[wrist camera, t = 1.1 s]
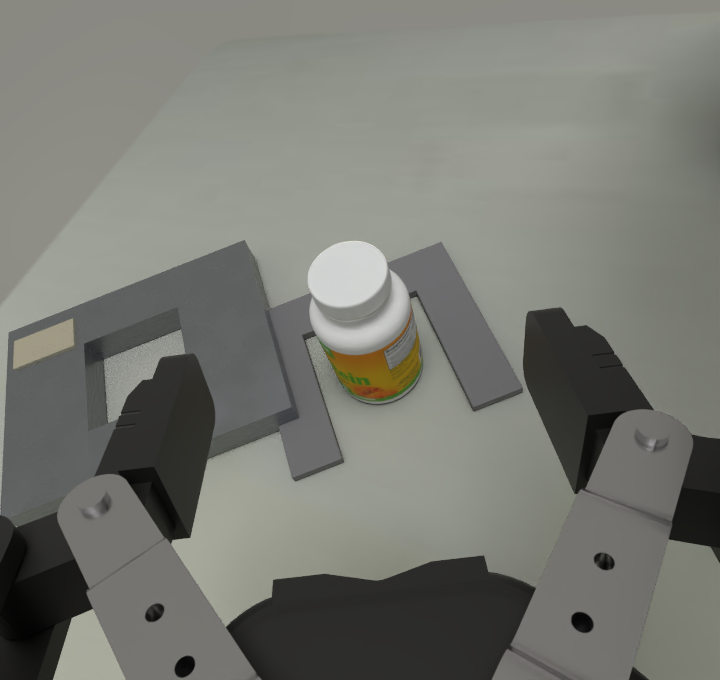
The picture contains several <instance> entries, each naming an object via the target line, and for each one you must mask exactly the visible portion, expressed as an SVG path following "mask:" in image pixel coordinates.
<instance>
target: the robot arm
mask: <svg viewBox="0 0 720 680" xmlns="http://www.w3.org/2000/svg"><path fill="white" fill-rule="evenodd" d="M523 370H524V377H525V381H526V385H527V387H528V390H529V392H530V394H531V397H532V399H533V401H534V403H535V406H536V408H537V410H538V412H539V415H540V417H541V419H542V421H543V424H544V426H545V428H546V430H547V433H548V435H549V437H550V439H551V442H552V444H553V446H554V448H555V451H556V453H557V455H558V457H559V460H560V462H561V464H562V467H563V469H564V471H565V473H566V476H567V478H568V480H569V482H570V485H571V487H572V489H573V491H574V494H578V495H577V497H576V499H575V501H574V504H573V506H572V508H571V510H570V513H569V515H568V517H567V519H566V522H565V524H564V526H563V528H562V531H561V533H560V535H559V538H558V540H557V542H556V544H555V547H554V549H553V551H552V553H551V556H550V558H549V560H548V562H547V565H546V567H545V569H544V572H543V574H542V576H541V578H540V581H539V583H538V585H537V587H536V588H535V587H533V586H531V585H529V584H527V583H525V582H523V581H520V580H518V579H515V578H512V577H510V576H506V575H502V574H498V573H492V572H488V569H487V565H486V561H485V557H484V556H476V557H468V558H459V559H450V560H441V561H433V562H429V563H427V564H424V565H421V566H419V567H416V568H414V569H411V570H408V571H406V572H403V573H400V574H398V575H395V576H392V577H390V578H387V579H384V580H380V581H373V580H365V579H358V578H351V577H343V576H336V575H329V574H320V575H311V576H303V577H294V578H285V579H277V580H273V590H272V597H271V598H268V599H266V600H264V601H262V602H260V603H258V604H256V605H254V606H252V607H251V608H249V609H248V610H246V611H245V612H243V613H242V614H240V615H239V616H238V617H237V618H236V619H234V620H233V621H232V622H231V623H230V624H229V625H228V626H227V627H225V625H224V624H223V622H222V621H221V619H220V618H219V616H218V615H217V613H216V612H215V610H214V609H213V607H212V606H211V604H210V603H209V601H208V600H207V598H206V597H205V595H204V594H203V592H202V591H201V589H200V588H199V586H198V585H197V583H196V582H195V580H194V579H193V577H192V576H191V574H190V573H189V571H188V570H187V568H186V567H185V565H184V564H183V562H182V561H181V559H180V557H179V556H178V554H177V553H176V551H175V550H174V548H173V547H172V545H171V543H172V540H175V539H183V538H190V536H191V532H192V527H193V522H194V518H195V513H196V509H197V504H198V500H199V495H200V490H201V486H202V481H203V477H204V472H205V468H206V463H207V458H208V454H209V449H210V445H211V440H212V436H213V431H214V426H215V407H214V402H213V399H212V396H211V393H210V390H209V388H208V385H207V382H206V380H205V377H204V374H203V372H202V369H201V366H200V364H199V361H198V359H197V357H196V355H195V354H193V353H191V354H183V355H175V356H167V357H162V358H161V359H160V361H159V363H158V366H157V368H156V371H155V373H154V376H153V379H150V380H142V381H141V383H140V384H139V385H138V386H137V387H136V388H135V389H134V390H133V391H132V392H131V393H130V394H129V395H128V397H127V399H126V402H125V404H124V407H123V409H122V411H121V416H119V419H118V421H117V423H116V429H114V430H113V433H112V435H111V438H110V440H109V442H108V445H107V447H106V450H105V452H104V454H103V457H102V459H101V462H100V464H99V466H98V469H97V471H96V474H95V476H94V477H93V478H90V479H88V480H86V481H84V482H82V483H81V484H79V485H78V486H76V487H75V488H74V489H73V490H72V491H71V492H70V493H69V494H68V495H67V496H66V497H65V498H64V499H63V501H62V503H61V504H60V507H59V509H58V512H55V513H53V514H51V515H48V516H45V517H43V518H40V519H37V520H35V521H32V522H29V523H27V524H24V525H22V526H19V527H15V526H14V524H13V523H12V522H11V521H10V520H9V519H8V518H7V517H5V516H2V515H0V680H53V677H54V674H55V671H56V668H57V664H58V661H59V658H60V655H61V651H62V648H63V645H64V641H65V638H66V635H67V632H68V628H69V625H70V622H71V619H72V618H73V617H75V616H77V615H80V614H82V613H84V612H87V611H89V610H91V609H94V612H95V614H96V616H97V618H98V620H99V622H100V624H101V627H102V629H103V631H104V633H105V635H106V637H107V640H108V642H109V644H110V646H111V648H112V650H113V653H114V655H115V657H116V659H117V661H118V663H119V666H120V668H121V670H122V672H123V674H124V676H125V678H126V680H648V679H647V678H646V677H645V676H644V675H643V674H641V673H640V672H639V671H638V670H637V669H635V668H634V667H633V663H634V660H635V656H636V652H637V649H638V645H639V642H640V638H641V635H642V631H643V628H644V624H645V620H646V617H647V613H648V610H649V606H650V603H651V599H652V596H653V592H654V588H655V585H656V581H657V578H658V574H659V571H660V567H661V564H662V560H663V556H664V553H665V549H666V546H667V542H668V539H670V540H675V541H681V542H687V543H693V544H699V545H705V546H710V547H711V548H712V550H713V552H714V554H715V555H716V557H717V559H718V561H719V563H720V439H715V438H707V437H701V436H696V435H692V434H691V433H690V432H689V430H688V429H687V428H686V427H685V426H684V425H683V424H682V423H681V422H680V421H678V420H677V419H675V418H673V417H671V416H669V415H667V414H664V413H662V412H658V411H654V409H653V408H652V406H651V405H650V404H649V402H648V401H647V399H646V398H645V396H644V395H643V393H642V392H641V390H640V389H639V387H638V386H637V385H636V383H635V382H634V380H633V379H632V377H631V376H630V374H629V373H628V371H627V370H626V368H625V367H623V364H622V363H621V361H620V360H619V358H618V357H617V355H615V354H614V351H613V349H612V348H611V347H610V345H609V344H608V342H607V341H606V339H605V338H604V337H603V336H602V335H600V334H599V333H597V332H596V331H594V330H593V329H591V328H590V327H588V326H587V325H585V326H577V327H574V326H573V324H572V323H571V321H570V319H569V318H568V316H567V315H566V313H565V311H564V310H563V309H562V308H560V307H559V308H551V309H544V310H536V311H529V312H528V313H527V317H526V327H525V342H524V356H523Z"/></svg>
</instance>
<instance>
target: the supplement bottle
mask: <svg viewBox="0 0 720 680" xmlns="http://www.w3.org/2000/svg"><path fill="white" fill-rule="evenodd" d="M307 281H308V287H309V290H310V293H311V295H312V299H311V303H310V309H309V315H310V321H311V325H312V327H313V330H314V332H315V334H316V336H317V338H318V340H319V342H320V344H321V346H322V347H323V349H324V351H325V353H326V355H327V357H328V359H329V361H330V363H331V365H332V367H333V369H334V371H335V373H336V375H337V377H338V379H339V381H340V383H341V384H342V386H343V387H344V389H345V390H346V391H347V392H348V393H349V394H350V395H351V396H353V397H354V398H356V399H358V400H360V401H362V402H366V403H371V404H383V403H388V402H392V401H395V400H397V399H399V398H401V397H402V396H404V395H405V394H406V393H408V392H409V391H410V390H411V389H412V388H413V387H414V385H415V384H416V383H417V381H418V379H419V377H420V374H421V371H422V365H423V358H422V350H421V346H420V341H419V337H418V332H417V327H416V322H415V318H414V314H413V309H412V305H411V300H410V296H409V293H408V290H407V288H406V286H405V284H404V282H403V281H402V280H401V278H400V277H399V276H398V275H397V274H395V273H394V272H393V271H391V270H390V269H389V267H388V264H387V261H386V259H385V257H384V255H383V254H382V252H381V251H380V250H378V249H377V248H376V247H375V246H373V245H371V244H369V243H366V242H362V241H346V242H341V243H338V244H335V245H333V246H331V247H329V248H327V249H326V250H324V251H323V252H322V253H321V254H319V255H318V256H317V257H316V259H315V260H314V261H313V263H312V264H311V267H310V269H309V272H308V279H307Z"/></svg>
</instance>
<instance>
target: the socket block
mask: <svg viewBox="0 0 720 680" xmlns="http://www.w3.org/2000/svg"><path fill="white" fill-rule="evenodd" d="M269 309H270V308H269V305H268V301H267V298H266V294H265V291H264V287H263V284H262V280H261V277H260V274H259V270H258V267H257V263H256V260H255V258H254V256H253V254H252V253H251V251H250V249H249V247H248V246H247V244H246V242H245V240H244V241H241V242H238V243H236V244H233V245H231V246H228V247H226V248H223V249H221V250H218V251H215V252H213V253H210V254H208V255H205V256H203V257H200V258H198V259H195V260H193V261H190V262H187V263H185V264H182V265H180V266H177V267H175V268H172V269H170V270H167V271H165V272H162V273H159V274H157V275H154V276H152V277H149V278H147V279H144V280H142V281H139V282H136V283H134V284H131V285H129V286H126V287H124V288H121V289H119V290H116V291H114V292H111V293H108V294H106V295H103V296H101V297H98V298H96V299H93V300H91V301H88V302H85V303H83V304H80V305H78V306H75V307H73V308H70V309H68V310H65V311H63V312H60V313H57V314H55V315H52V316H50V317H47V318H45V319H42V320H40V321H37V322H34V323H32V324H29V325H27V326H24V327H22V328H19V329H17V330H14V331H12V332H9V339H8V361H7V383H6V406H5V428H4V450H3V472H2V494H1V515H2V516H5V517H7V518H8V519H9V520H10V521H11V522H12V523H13V524H14V526H17V527H19V526H22V525H24V524H27V523H29V522H32V521H35V520H37V519H40V518H43V517H45V516H48V515H51V514H53V513H55V512H58V509H59V507H60V504H61V503H62V501H63V499H64V498H65V497H66V496H67V495H68V494H69V493H70V492H71V491H72V490H73V489H74V488H75V487H76V486H78V485H79V484H81V483H82V482H84V481H86V480H88V479H90V478H93V477H94V476H95V474H96V471H97V469H98V466H99V464H100V462H101V459H102V457H103V454H104V452H105V450H106V447H107V445H108V442H109V440H110V438H111V435H112V433H113V430H114V429H116V423H117V421H118V420H115V421H113V422H110V423H107V409H106V395H105V381H104V366H103V359H105V358H107V357H110V356H112V355H115V354H117V353H120V352H122V351H125V350H128V349H130V348H133V347H135V346H138V345H140V344H143V343H145V342H148V341H151V340H153V339H156V338H158V337H161V336H163V335H166V334H168V333H171V332H174V331H176V330H179V329H181V330H182V336H183V342H184V347H185V353H186V354H191V353H193V354H195V355H196V357H197V359H198V361H199V364H200V366H201V369H202V372H203V374H204V377H205V380H206V382H207V385H208V388H209V390H210V393H211V396H212V399H213V402H214V407H215V426H214V431H213V436H212V440H211V445H210V449H209V454H208V458H207V459H209V458H211V457H214V456H216V455H219V454H221V453H224V452H226V451H229V450H232V449H234V448H237V447H239V446H242V445H244V444H247V443H249V442H252V441H255V440H257V439H260V438H262V437H265V436H267V435H270V434H272V433H275V432H278V431H280V429H279V426H280V425H283V424H285V423H288V422H290V421H293V420H296V419H298V418H299V414H298V411H297V407H296V404H295V400H294V397H293V393H292V390H291V386H290V383H289V379H288V376H287V373H286V369H285V366H284V362H283V359H282V355H281V352H280V348H279V345H278V341H277V338H276V334H275V331H274V327H273V324H272V320H271V317H270V313H269Z"/></svg>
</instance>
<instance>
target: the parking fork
mask: <svg viewBox="0 0 720 680" xmlns="http://www.w3.org/2000/svg"><path fill="white" fill-rule="evenodd" d="M387 264H388V267H389V269H390V270H391V271H393V272H394V273H395V274H397V275H398V276H399V277H400V278H401V280H402V281H403V282H404V284H405V286H406V288H407V290H408V293H409V296H410V298H412V297H415V296H418V298H419V300H420V302H421V304H422V306H423V308H424V311H425V313H426V315H427V317H428V319H429V321H430V323H431V325H432V327H433V329H434V331H435V333H436V335H437V337H438V339H439V341H440V343H441V345H442V347H443V349H444V352H445V354H446V356H447V358H448V360H449V362H450V364H451V366H452V368H453V370H454V372H455V374H456V376H457V378H458V380H459V382H460V384H461V386H462V388H463V390H464V393H465V395H466V397H467V399H468V401H469V403H470V405H471V407H472V409H473V411H476V410H478V409H481V408H483V407H486V406H489V405H491V404H494V403H496V402H499V401H501V400H504V399H506V398H509V397H512V396H514V395H517V394H519V393H522V391H523V387H522V385H521V384H520V382H519V380H518V378H517V376H516V375H515V373H514V371H513V369H512V368H511V366H510V364H509V362H508V360H507V359H506V357H505V355H504V353H503V351H502V350H501V348H500V346H499V344H498V342H497V341H496V339H495V337H494V335H493V334H492V332H491V330H490V328H489V326H488V325H487V323H486V321H485V319H484V317H483V316H482V314H481V312H480V310H479V308H478V307H477V305H476V303H475V301H474V300H473V298H472V296H471V294H470V292H469V291H468V289H467V287H466V285H465V283H464V282H463V280H462V278H461V276H460V274H459V273H458V271H457V269H456V267H455V266H454V264H453V262H452V260H451V258H450V257H449V255H448V253H447V251H446V249H445V248H444V246H443V244H442V242H440V243H437V244H435V245H432V246H430V247H427V248H425V249H422V250H419V251H417V252H414V253H412V254H409V255H407V256H404V257H402V258H399V259H396V260H394V261H391V262H389V263H387ZM311 299H312V295H311V293H310V294H307V295H305V296H302V297H300V298H297V299H294V300H292V301H289V302H287V303H284V304H282V305H279V306H277V307H274V308H271V309H269V313H270V317H271V320H272V324H273V327H274V331H275V334H276V338H277V341H278V345H279V348H280V352H281V355H282V359H283V362H284V366H285V369H286V373H287V376H288V379H289V383H290V386H291V390H292V393H293V397H294V400H295V404H296V407H297V411H298V414H299V418H298V419H296V420H293V421H290V422H288V423H285V424H283V425H280V426H279V429H280V433H281V437H282V441H283V444H284V448H285V452H286V456H287V460H288V463H289V467H290V471H291V475H292V478H293V479H294V480H295V481H297V480H299V479H302V478H305V477H307V476H310V475H312V474H315V473H317V472H320V471H322V470H325V469H328V468H330V467H333V466H335V465H338V464H340V463H343V462H344V460H343V457H342V454H341V451H340V448H339V445H338V442H337V439H336V436H335V432H334V429H333V426H332V423H331V420H330V417H329V414H328V411H327V408H326V404H325V401H324V398H323V395H322V392H321V389H320V386H319V383H318V380H317V377H316V373H315V370H314V367H313V364H312V361H311V358H310V355H309V352H308V349H307V345H306V342H305V339H308V338H310V337H313V336H315V335H316V334H315V332H314V330H313V327H312V325H311V321H310V315H309V309H310V303H311Z"/></svg>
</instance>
